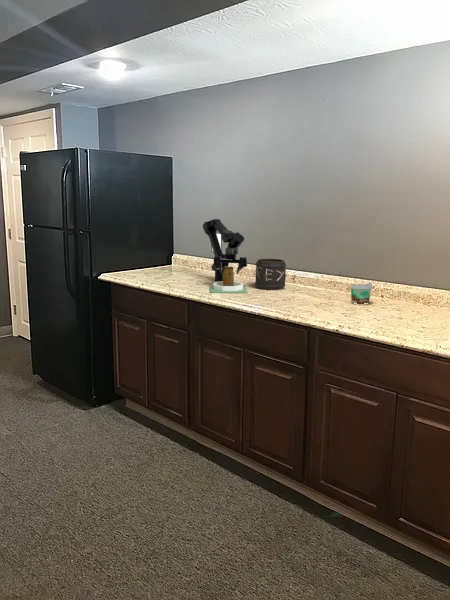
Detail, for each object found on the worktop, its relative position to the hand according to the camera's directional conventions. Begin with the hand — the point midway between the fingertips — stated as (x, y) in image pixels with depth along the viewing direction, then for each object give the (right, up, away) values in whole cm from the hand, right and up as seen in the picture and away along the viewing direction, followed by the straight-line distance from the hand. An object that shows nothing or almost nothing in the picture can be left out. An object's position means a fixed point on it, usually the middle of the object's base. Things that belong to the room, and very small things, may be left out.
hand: (228, 273), depth 290 cm
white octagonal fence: (0, -9, -2) cm, 9 cm away
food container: (+66, -17, -35) cm, 76 cm away
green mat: (0, -9, -2) cm, 9 cm away
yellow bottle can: (0, -9, -2) cm, 9 cm away
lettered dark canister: (+23, -8, +5) cm, 25 cm away
